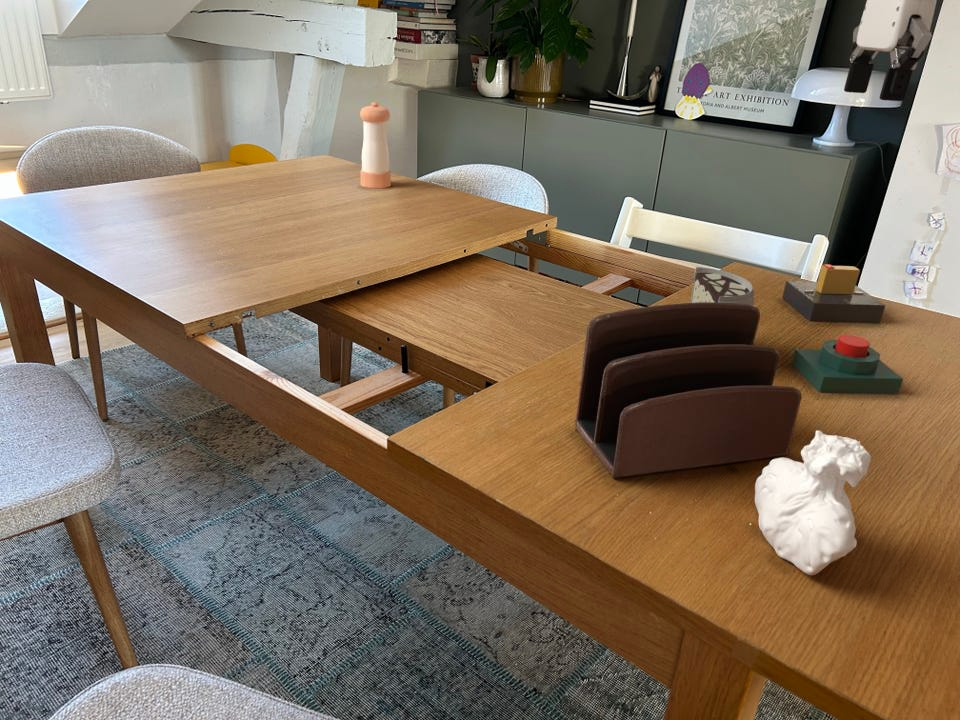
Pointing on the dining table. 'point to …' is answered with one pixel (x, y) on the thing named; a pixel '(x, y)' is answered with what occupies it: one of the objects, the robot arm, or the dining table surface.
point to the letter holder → (682, 389)
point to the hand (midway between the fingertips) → (872, 96)
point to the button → (852, 346)
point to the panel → (832, 304)
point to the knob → (837, 279)
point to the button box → (846, 371)
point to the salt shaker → (375, 147)
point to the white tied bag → (811, 502)
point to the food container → (720, 287)
